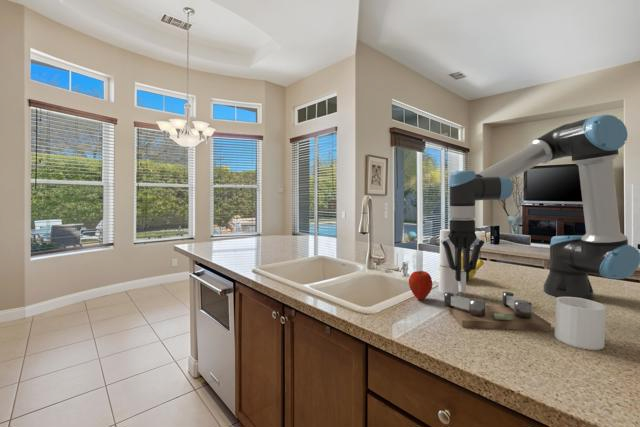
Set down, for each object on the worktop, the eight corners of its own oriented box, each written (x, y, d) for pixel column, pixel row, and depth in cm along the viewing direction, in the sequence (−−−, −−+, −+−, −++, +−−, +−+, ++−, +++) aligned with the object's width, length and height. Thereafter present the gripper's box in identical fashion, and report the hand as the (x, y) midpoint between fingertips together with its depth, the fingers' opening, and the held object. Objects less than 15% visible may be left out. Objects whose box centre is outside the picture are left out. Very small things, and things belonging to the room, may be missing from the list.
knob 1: (487, 314, 93) (488, 301, 93) (481, 317, 90) (481, 304, 90) (448, 303, 103) (448, 291, 103) (441, 306, 100) (441, 294, 100)
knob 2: (534, 318, 89) (535, 305, 89) (518, 318, 90) (518, 304, 90) (512, 303, 102) (512, 291, 102) (498, 303, 103) (499, 291, 102)
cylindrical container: (460, 295, 118) (461, 231, 117) (440, 294, 120) (441, 230, 118) (456, 289, 125) (457, 229, 124) (437, 289, 126) (438, 229, 125)
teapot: (492, 282, 136) (493, 251, 135) (473, 288, 127) (474, 255, 126) (450, 273, 152) (451, 246, 152) (431, 278, 143) (432, 249, 143)
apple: (415, 294, 120) (415, 267, 119) (436, 299, 114) (437, 270, 113) (404, 299, 114) (404, 270, 113) (425, 304, 108) (426, 274, 107)
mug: (603, 355, 73) (605, 313, 73) (551, 341, 80) (552, 303, 80) (605, 337, 82) (607, 300, 82) (558, 326, 89) (559, 292, 89)
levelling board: (523, 312, 100) (524, 301, 100) (550, 330, 86) (551, 317, 86) (447, 309, 103) (448, 298, 103) (462, 327, 89) (462, 314, 89)
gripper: (478, 217, 102) (478, 287, 103) (438, 218, 103) (438, 287, 105) (488, 219, 94) (488, 294, 95) (444, 220, 96) (444, 294, 97)
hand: (462, 290), depth 100 cm, fingers closed
